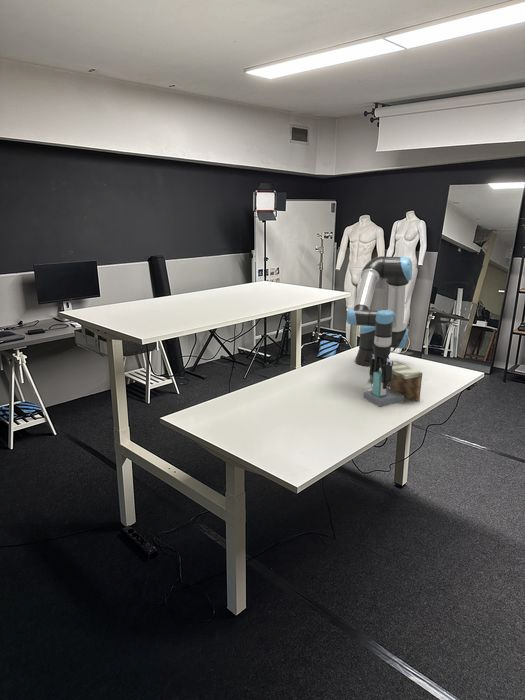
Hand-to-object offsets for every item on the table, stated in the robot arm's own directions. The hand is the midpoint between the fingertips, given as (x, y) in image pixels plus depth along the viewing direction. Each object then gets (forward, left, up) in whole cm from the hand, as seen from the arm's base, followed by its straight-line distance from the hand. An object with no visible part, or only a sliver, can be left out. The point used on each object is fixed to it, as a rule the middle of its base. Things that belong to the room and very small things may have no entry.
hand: (379, 392), depth 220 cm
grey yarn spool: (-18, +17, -4) cm, 25 cm away
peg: (0, 0, -4) cm, 4 cm away
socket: (0, +3, -4) cm, 5 cm away
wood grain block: (0, +12, -4) cm, 13 cm away
